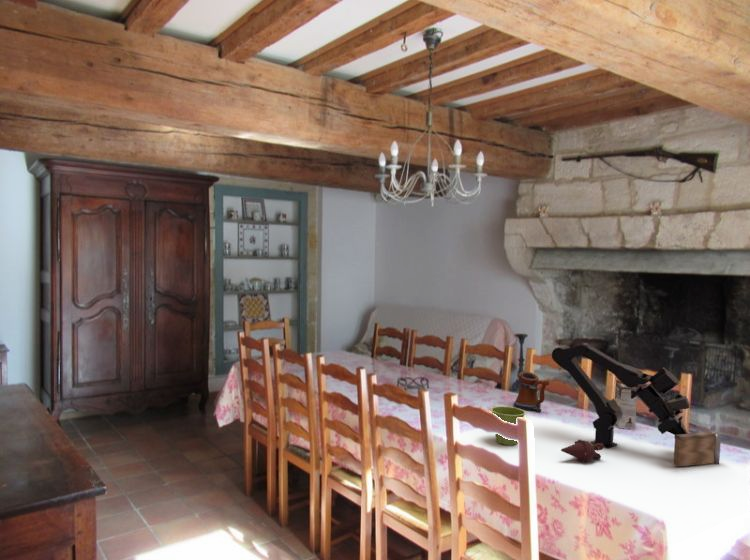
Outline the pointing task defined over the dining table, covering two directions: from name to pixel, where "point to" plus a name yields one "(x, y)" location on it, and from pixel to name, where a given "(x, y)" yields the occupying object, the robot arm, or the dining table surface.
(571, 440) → the dining table surface
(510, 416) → the plant pot
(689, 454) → the brown flat wooden slab
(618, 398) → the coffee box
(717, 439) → the gate post
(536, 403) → the mug
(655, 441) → the dining table surface
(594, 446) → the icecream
